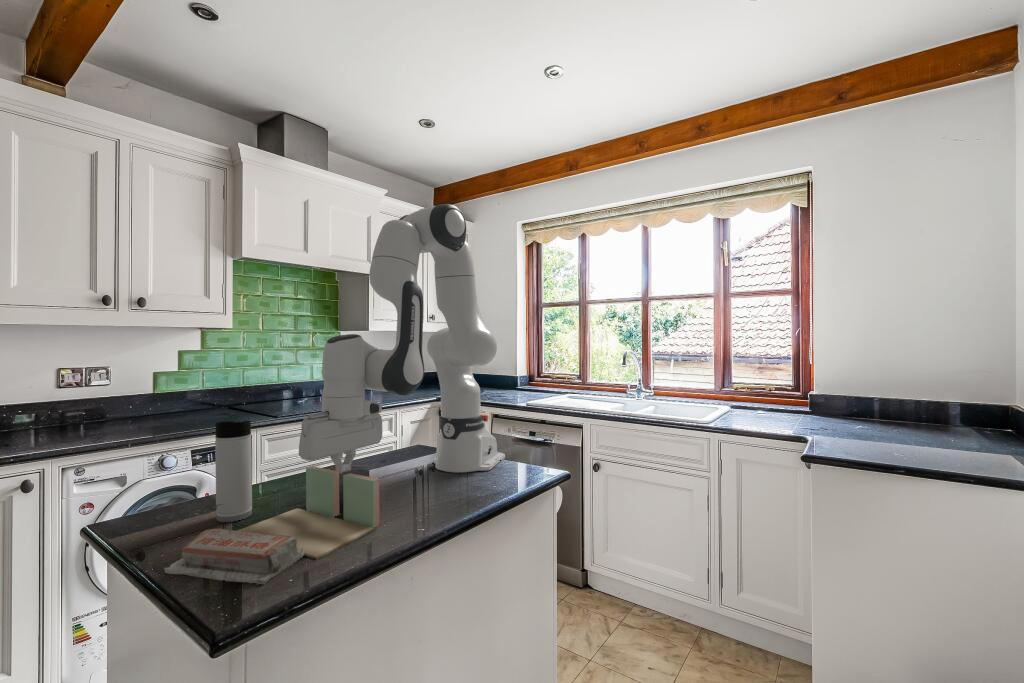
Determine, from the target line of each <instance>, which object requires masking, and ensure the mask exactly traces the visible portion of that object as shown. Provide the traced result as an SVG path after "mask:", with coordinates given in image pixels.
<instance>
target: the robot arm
mask: <svg viewBox="0 0 1024 683" xmlns="http://www.w3.org/2000/svg"><path fill="white" fill-rule="evenodd" d="M466 238H467V222H466V219H465V216H464V214H463V213H462V211H461V210H460V209H459V207H457V206H456V205H454V204H449V203H442V204H441V203H439V204H437V205H433V206H429V207H428V206H427V207H424V208H420V209H418V210H416V211H414V212H412V213H410V214H405V215H403V216H402V217H400V218H398V219H391V220H389V221H386V222H385V223H384V224H383V225H382V227H381V228H380V231H379V234H378V235H377V239H376V243H375V245H374V249H373V252H372V258H371V263H370V267H369V284H370V286H371V289H372V290H373V291H374V292H375V293H376V294H377V296H379V297H381V298H382V299H384V300H386V301H388V302H390V303H392V305H393V306H394V308H395V310H396V315H397V316H396V332H395V333H396V337H395V346H394V347H393V349H383V348H381V349H379V348H378V347H375V346H373V345H371V344H370V343H368V342H367V341H366V340H364V338H363V336H362V335H360V334H356V333H355V334H354V333H350V334H340V335H336V336H335V335H334V336H332V337H330V338H329V339H327V340H326V342H325V344H324V347H323V352H322V365H321V366H322V367H321V371H322V372H321V376H322V377H321V378H322V380H323V389H322V392H321V411H320V412H317V413H309V414H308V415H307V416H306V417H305V418H304V419H303V420H302V422H301V431H300V434H299V435H300V436H299V442H298V456H299V457H300V458H301V459H302V460H304V461H309V462H310V461H311V462H312V461H317V460H321V459H325V458H328V457H330V459H331V461H332V463H333V464H334V467H335V468H334V470H335V471H339V475H340V474H344V473H347V472H350V471H351V470H352V463H353V461H354V459H355V457H356V454H357V451H356V450H359V449H363V448H366V447H369V446H374V445H377V444H380V442H381V440H382V439H383V419H382V416H381V412H382V408H383V406H382V404H381V403H379V402H376V401H372V400H368V399H366V392H365V390H371V391H376V392H384V393H385V392H387V393H390V394H394V395H395V394H396V395H400V396H407V395H410V394H412V393H414V392H415V391H416V390H417V389H418V388H419V387H420V385H421V383H422V382H423V380H424V377H425V364H424V362H425V361H424V355H423V336H424V335H423V332H424V331H423V330H424V296H423V291H422V289H421V287H420V286H419V285H418V269H419V262H420V255H421V254H427V253H430V255H431V256H432V258H433V262H434V265H433V266H434V283H435V295H436V296H435V297H436V305H437V308H438V310H439V312H440V313H442V316H443V318H444V319H445V322H446V325H447V327H444V328H442V329H440V330H437V331H435V332H433V333H432V334H431V336H429V338H428V341H427V345H426V346H427V347H426V348H427V352H428V355H429V356H430V358H431V359H432V361H433V363H434V367H435V369H436V374H437V378H438V382H439V388H440V414H441V415H440V416H439V421H438V424H439V430H440V432H439V433H438V434H437V439H436V449H435V450H436V451H435V453H436V454H435V457H434V458H433V461H432V462H433V463H434V464H435V466H434V467H435V469H437V470H440V471H442V472H446V473H447V472H448V473H470V472H478V471H481V472H482V471H491V469H493V468H494V467H495V466H496V465H498V464H499V463H501V461H503V460H504V459H505V458H506V454H505V453H502V452H500V451H498V443H497V439H496V437H495V436H494V435H493V434H492V433H490V432H489V431H488V430H487V428H485V423H486V422H488V421H489V415H488V414H484V413H482V414H481V387H480V385H479V383H478V382H477V381H476V379H475V378H474V374H473V370H472V368H479V367H482V366H485V365H488V364H489V363H491V362H492V361H493V359H494V358H495V357H496V354H497V350H498V346H497V340H496V338H495V336H494V334H492V332H491V331H490V330H489V329H488V328H487V326H486V325H485V322H484V319H483V317H482V314H481V312H480V308H479V304H478V298H477V297H478V296H477V289H476V288H477V286H476V277H475V276H476V275H475V268H474V261H473V256H472V252H471V248H470V246H469V243H468V242H467V241H466ZM484 422H485V423H484ZM343 453H344V455H345V457H344V460H343V461H342V459H343ZM495 459H497V460H495ZM499 460H501V461H499Z"/></svg>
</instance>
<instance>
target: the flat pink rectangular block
mask: <svg viewBox="0 0 1024 683" xmlns="http://www.w3.org/2000/svg"><path fill="white" fill-rule="evenodd" d="M305 504H306V507H305V508H306V509H305V510H307V511H311V512H314V513H319V514H322V515H326V516H330V517H334V518H336V517H337V516H339V515H340V474H339V471H335V469H328V468H323V467H320V466H308V467H305ZM335 516H336V517H335Z"/></svg>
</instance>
